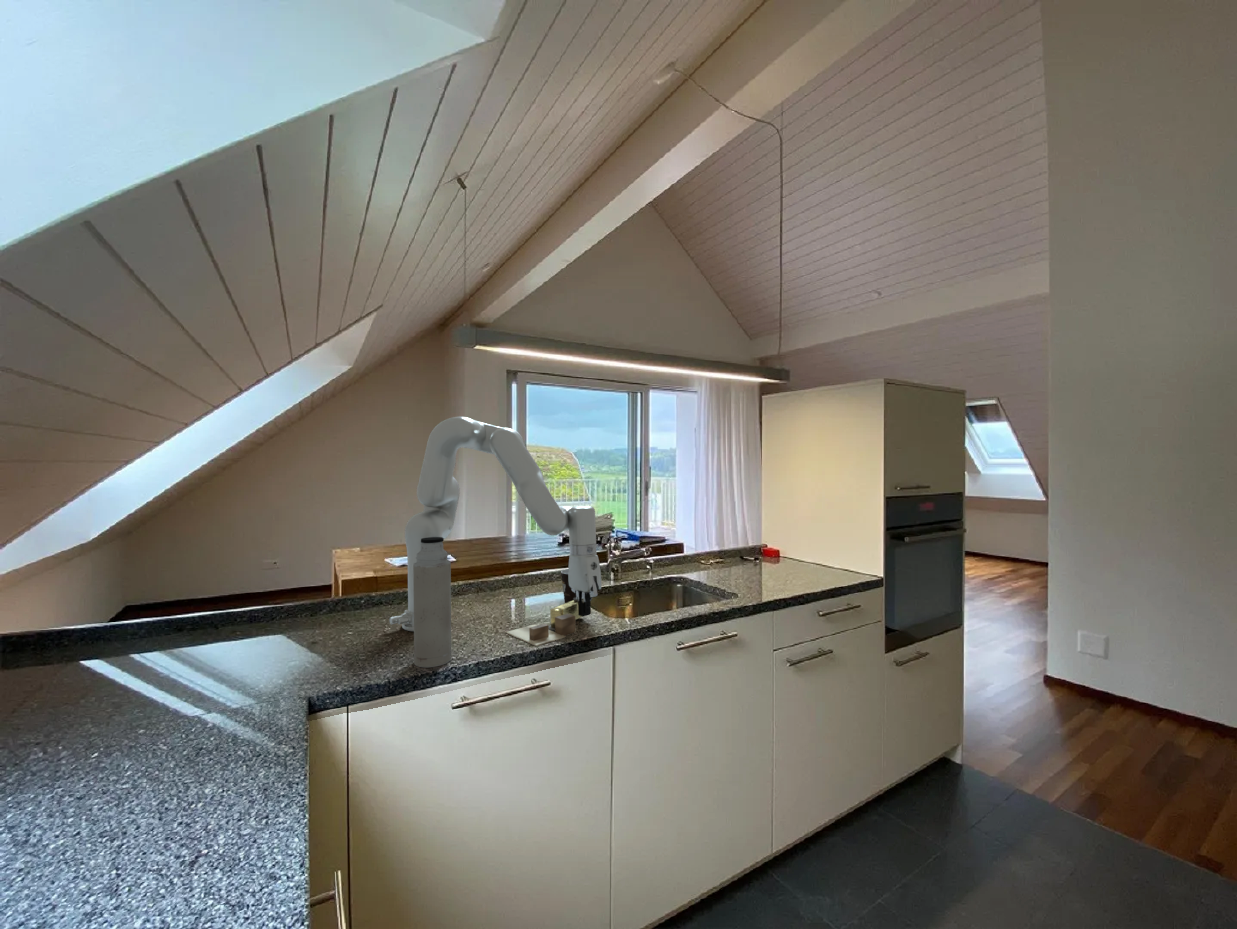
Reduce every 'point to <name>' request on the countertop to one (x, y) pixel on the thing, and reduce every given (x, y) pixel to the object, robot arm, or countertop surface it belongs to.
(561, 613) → the lock bar
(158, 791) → the countertop surface
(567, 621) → the block
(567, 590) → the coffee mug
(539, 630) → the block
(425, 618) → the thermos bottle
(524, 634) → the beige square plate
